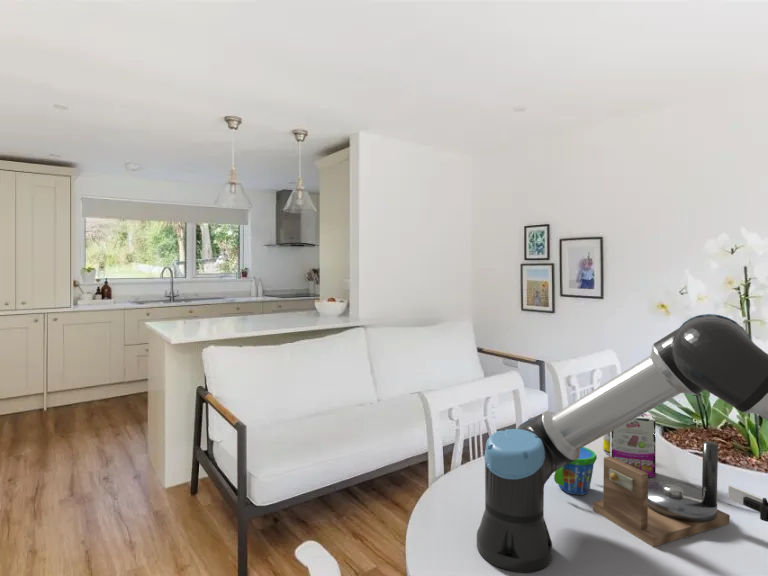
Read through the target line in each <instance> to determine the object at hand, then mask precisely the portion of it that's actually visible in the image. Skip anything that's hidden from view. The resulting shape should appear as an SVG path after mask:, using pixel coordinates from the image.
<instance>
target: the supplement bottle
mask: <svg viewBox="0 0 768 576" xmlns="http://www.w3.org/2000/svg"><path fill="white" fill-rule="evenodd" d="M602 437H603V440H602V441H603V453H605V454H606V455H608V456H610V432H609V433H608V434H606V435H604V436H602Z"/></svg>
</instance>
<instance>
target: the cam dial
mask: <svg viewBox="0 0 768 576" xmlns="http://www.w3.org/2000/svg"><path fill="white" fill-rule="evenodd" d="M718 463H719V444H718V443H717V442H713V441H708V440H704V441H703V442H702V467H701V468H702V474H701V475H702V476H701V477H702V480H701V490H700V489H698V488H694V487H692V486H689V485H686V484H682V483H678V482H671V481H660V480H659V481H651V482H649V481H648V506H649V507H650V508H652V509H654V510H655V511H657V512H659V513H662V514H664V515H667V516H670V517H673V518H677V519H681V520H687V521H696V522H703V521H710V520H713V519H714V518H716V516H717V509H718V502H717V501H718V469H719V467H718V466H719V464H718Z"/></svg>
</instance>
